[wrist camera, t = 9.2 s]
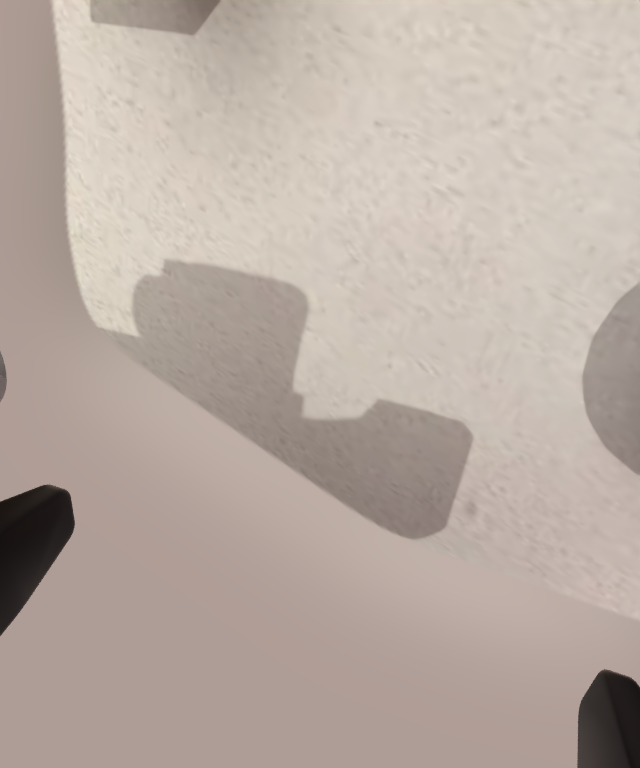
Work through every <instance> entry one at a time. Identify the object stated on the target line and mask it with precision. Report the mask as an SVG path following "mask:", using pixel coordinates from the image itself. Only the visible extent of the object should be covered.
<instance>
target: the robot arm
mask: <svg viewBox="0 0 640 768" xmlns="http://www.w3.org/2000/svg"><path fill="white" fill-rule="evenodd" d="M74 525H75V521H74V515H73V508H72V502H71V496H70V494H69V492H68V491H67V490H65V489H62V488H59V487H56V486H53V485H43V486H40V487H37V488H35V489H32V490H29V491H27V492H24V493H22V494H19V495H17V496H14V497H11V498H9V499H6V500H3V501H1V502H0V636H1V635H2V633H3V632H4V631H5V630H6V628H7V627H8V626H9V625H10V624H11V622H12V621H13V620H14V618H15V617H16V616H17V615H18V613H19V612H20V611H21V609H22V608H23V606H24V605H25V604H26V602H27V601H28V599H29V598H30V597H31V595H32V594H33V592H34V591H35V589H36V588H37V586H38V585H39V583H40V582H41V580H42V579H43V577H44V576H45V574H46V573H47V571H48V570H49V568H50V567H51V565H52V564H53V562H54V561H55V560H56V558H57V557H58V555H59V553H60V552H61V551H62V549H63V547H64V546H65V545H66V543H67V542H68V540H69V539H70V537H71V535H72V533H73V530H74ZM577 767H578V768H640V687H639V685H638V684H637V683H636V682H635V681H634V680H633V679H632V678H630V677H628V676H625V675H622V674H619V673H616V672H613V671H610V670H605V669H604V670H602V671H600V672H599V673H598V675H597V676H596V678H595V680H594V681H593V683H592V684H591V686H590V687H589V689H588V691H587V692H586V694H585V695H584V697H583V699H582V701H581V704H580V708H579V715H578V766H577Z"/></svg>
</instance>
